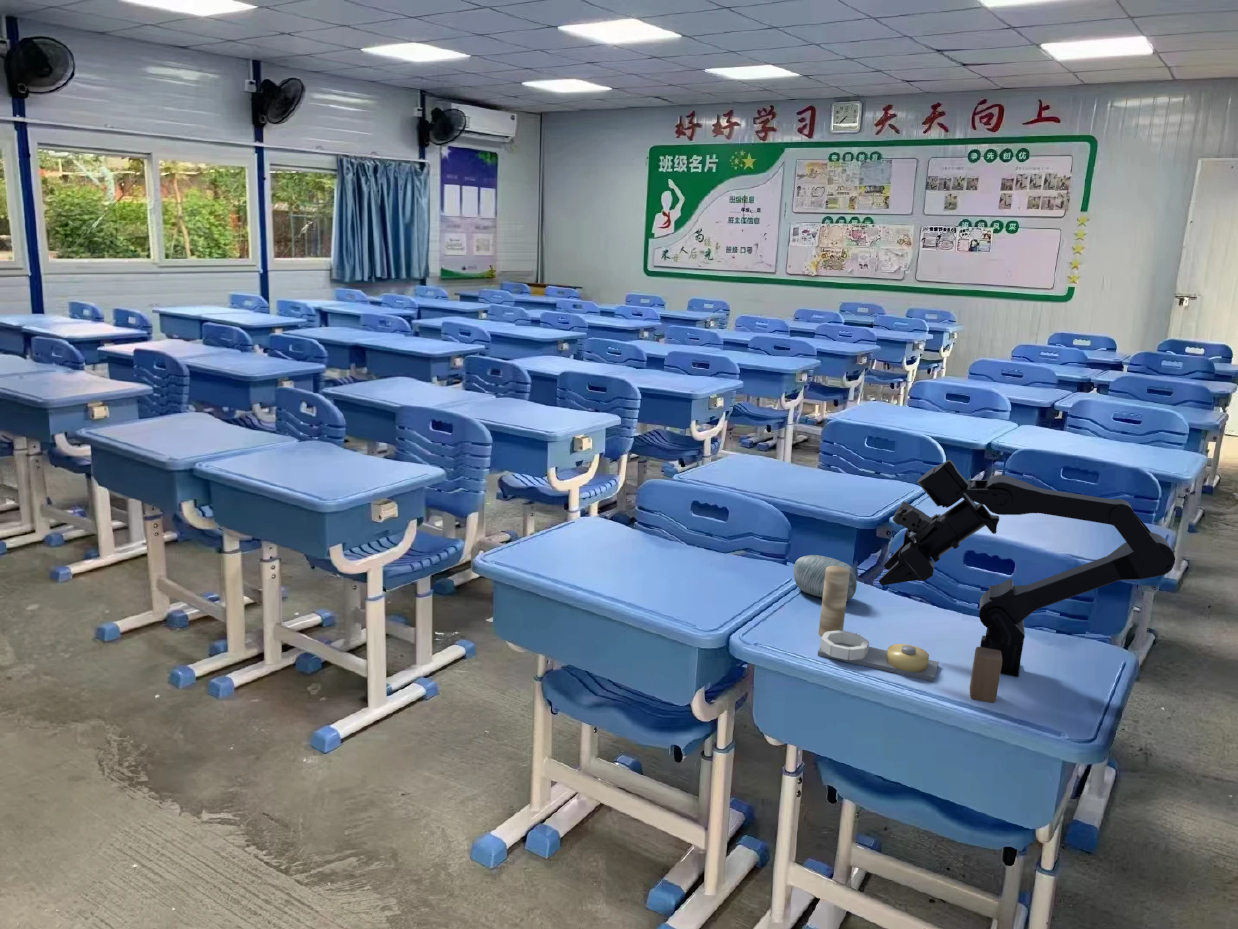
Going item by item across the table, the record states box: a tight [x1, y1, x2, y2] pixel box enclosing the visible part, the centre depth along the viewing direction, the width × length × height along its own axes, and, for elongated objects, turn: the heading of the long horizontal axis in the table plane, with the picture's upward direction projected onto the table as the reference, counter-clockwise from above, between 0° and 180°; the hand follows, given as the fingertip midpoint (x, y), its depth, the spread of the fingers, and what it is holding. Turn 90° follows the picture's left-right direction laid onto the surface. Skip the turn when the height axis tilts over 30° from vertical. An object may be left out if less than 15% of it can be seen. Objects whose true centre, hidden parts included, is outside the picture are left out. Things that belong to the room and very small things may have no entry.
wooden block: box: [969, 646, 1002, 704], centre depth 157 cm, size 4×4×8 cm
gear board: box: [817, 629, 940, 682], centre depth 168 cm, size 20×8×4 cm, turn 65°
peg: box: [818, 566, 850, 638], centre depth 178 cm, size 4×4×13 cm
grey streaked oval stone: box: [793, 554, 858, 602], centre depth 199 cm, size 14×10×10 cm
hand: (882, 575), depth 174 cm, fingers open, 9 cm apart
